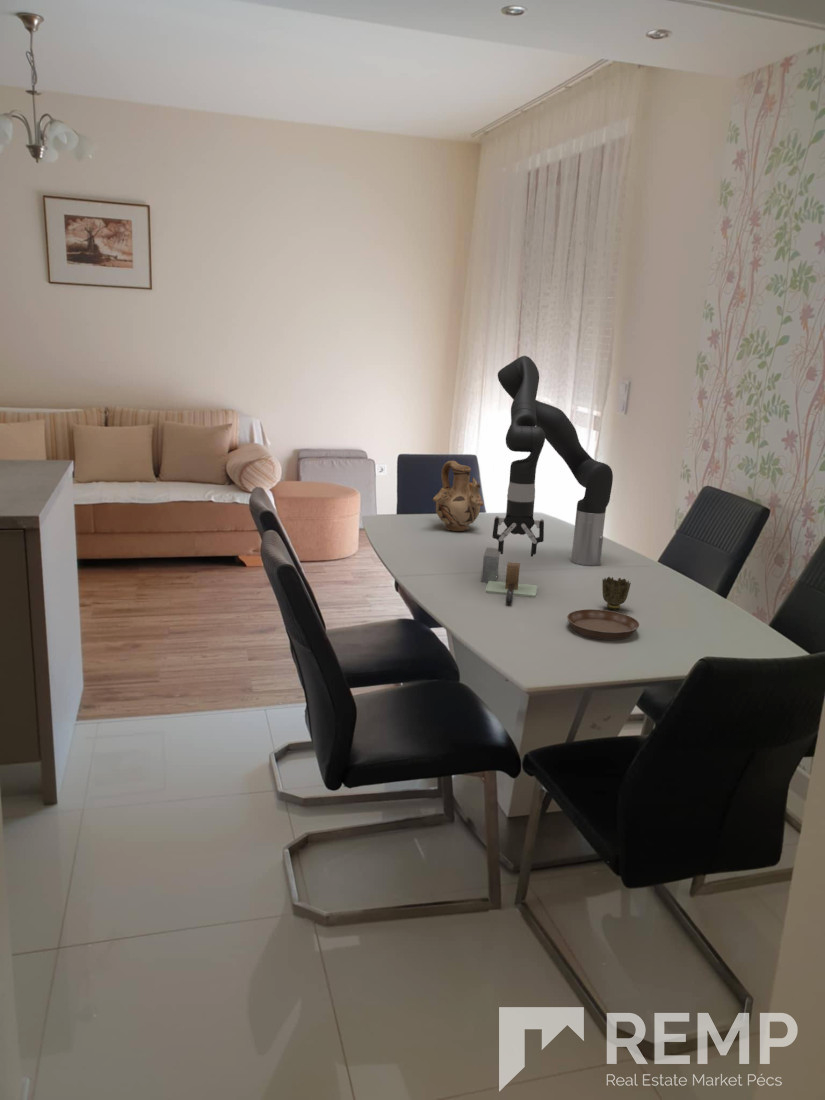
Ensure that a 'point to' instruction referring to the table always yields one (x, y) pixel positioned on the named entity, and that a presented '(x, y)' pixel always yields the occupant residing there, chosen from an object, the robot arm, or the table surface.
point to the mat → (522, 590)
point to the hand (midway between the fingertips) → (516, 554)
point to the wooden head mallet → (512, 580)
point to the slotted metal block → (490, 565)
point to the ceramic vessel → (458, 498)
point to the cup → (615, 592)
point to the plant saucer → (602, 624)
